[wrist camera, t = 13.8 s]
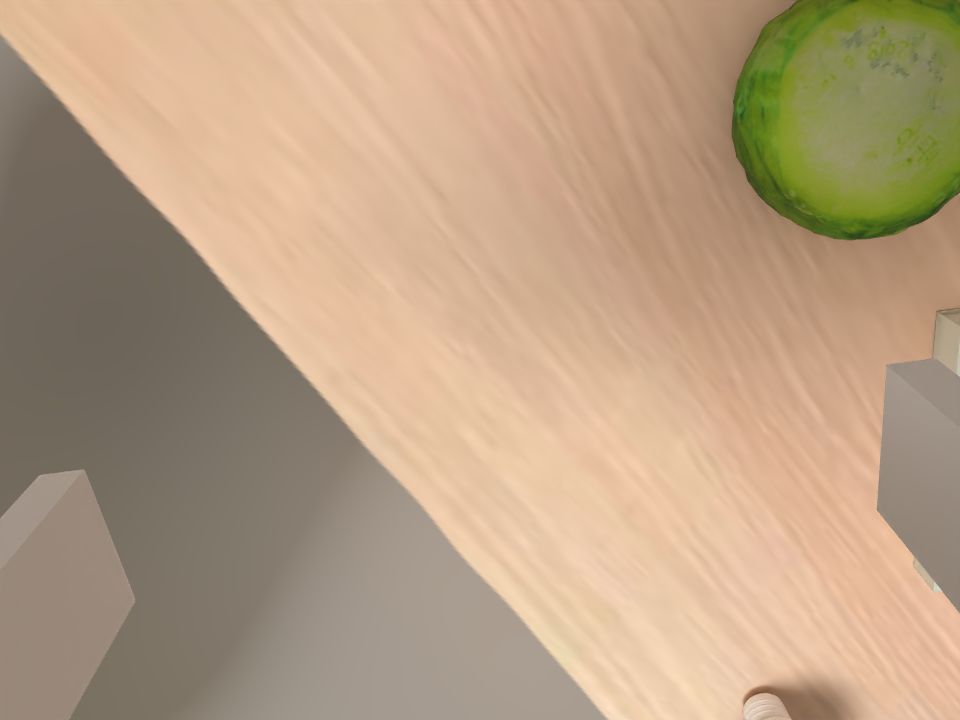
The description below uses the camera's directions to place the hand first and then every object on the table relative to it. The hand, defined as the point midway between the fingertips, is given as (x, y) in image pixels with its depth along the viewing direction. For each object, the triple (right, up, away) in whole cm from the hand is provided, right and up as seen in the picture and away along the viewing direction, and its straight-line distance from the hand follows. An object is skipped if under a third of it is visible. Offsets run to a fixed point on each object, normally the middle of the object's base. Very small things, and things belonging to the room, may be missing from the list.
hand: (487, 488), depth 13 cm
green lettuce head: (+17, +14, +24) cm, 32 cm away
